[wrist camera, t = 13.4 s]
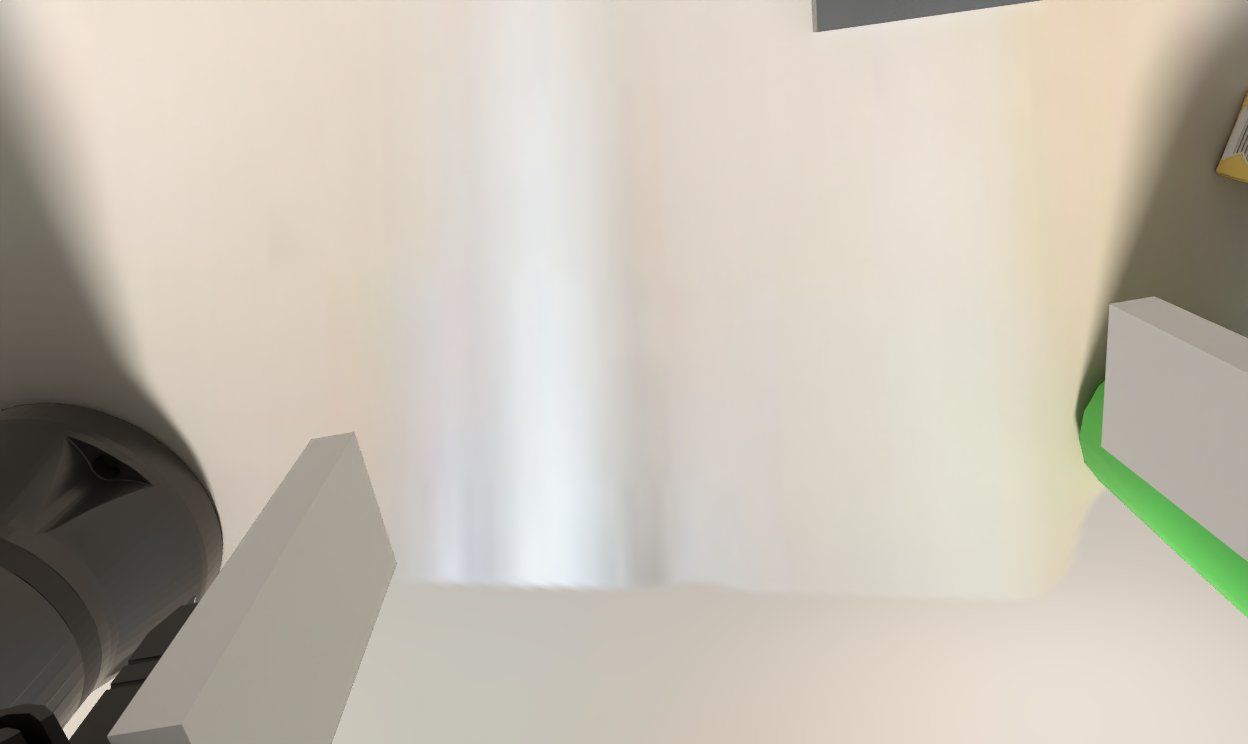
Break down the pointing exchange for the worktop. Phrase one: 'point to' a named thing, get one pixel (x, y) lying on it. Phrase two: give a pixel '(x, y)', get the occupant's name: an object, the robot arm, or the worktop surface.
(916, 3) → the stand
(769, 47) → the worktop surface
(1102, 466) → the bottle
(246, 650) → the robot arm
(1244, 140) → the candy box
